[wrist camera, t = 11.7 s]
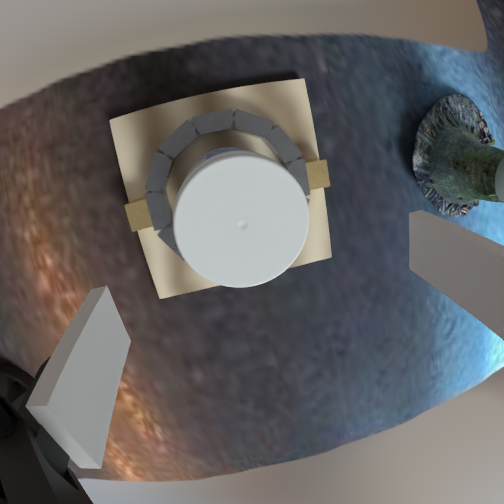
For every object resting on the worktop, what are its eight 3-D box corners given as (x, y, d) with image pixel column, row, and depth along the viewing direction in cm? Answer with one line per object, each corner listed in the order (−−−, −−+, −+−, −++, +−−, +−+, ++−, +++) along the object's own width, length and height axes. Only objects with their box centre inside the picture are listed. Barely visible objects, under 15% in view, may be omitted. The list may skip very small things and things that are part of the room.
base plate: (160, 294, 38) (159, 298, 37) (112, 120, 30) (109, 120, 29) (328, 253, 40) (331, 257, 39) (301, 80, 32) (304, 78, 31)
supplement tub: (232, 129, 32) (254, 119, 18) (286, 193, 35) (340, 228, 22) (165, 188, 33) (140, 221, 19) (222, 248, 36) (236, 314, 23)
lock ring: (154, 280, 36) (151, 290, 34) (114, 140, 30) (108, 140, 28) (329, 238, 38) (337, 245, 36) (307, 99, 32) (315, 96, 30)
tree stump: (495, 190, 42) (559, 232, 26) (403, 218, 46) (455, 276, 30) (481, 88, 34) (556, 98, 19) (379, 105, 39) (439, 113, 23)
